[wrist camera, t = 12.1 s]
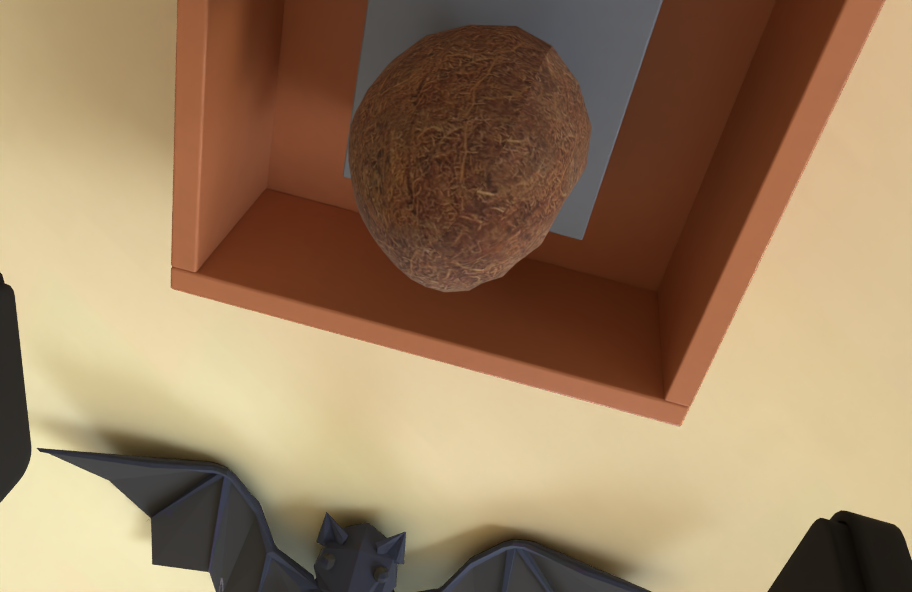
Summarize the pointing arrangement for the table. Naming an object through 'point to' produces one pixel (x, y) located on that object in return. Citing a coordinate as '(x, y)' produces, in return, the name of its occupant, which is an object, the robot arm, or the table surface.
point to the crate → (558, 257)
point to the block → (557, 23)
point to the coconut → (467, 153)
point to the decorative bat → (345, 549)
